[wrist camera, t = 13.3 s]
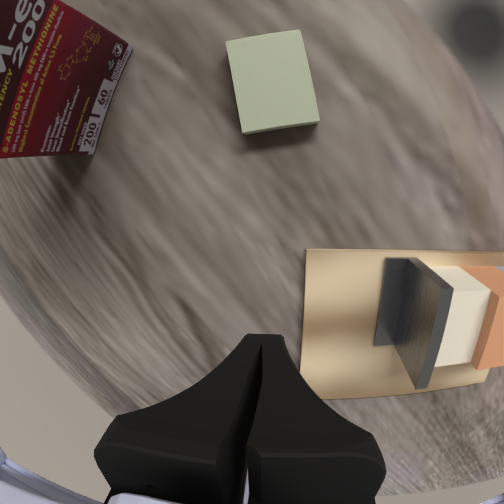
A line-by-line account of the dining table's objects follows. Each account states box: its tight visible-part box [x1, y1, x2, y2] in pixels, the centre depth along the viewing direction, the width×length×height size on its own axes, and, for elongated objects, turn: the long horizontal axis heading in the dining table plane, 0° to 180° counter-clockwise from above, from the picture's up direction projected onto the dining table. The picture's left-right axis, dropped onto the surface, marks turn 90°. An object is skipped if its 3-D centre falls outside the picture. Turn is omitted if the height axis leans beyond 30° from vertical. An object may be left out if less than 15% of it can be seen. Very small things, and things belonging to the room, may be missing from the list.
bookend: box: [373, 257, 454, 390], centre depth 17 cm, size 6×2×6 cm, turn 1°
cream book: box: [429, 266, 491, 367], centre depth 18 cm, size 5×4×4 cm
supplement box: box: [0, 0, 133, 159], centre depth 11 cm, size 9×5×16 cm, turn 159°
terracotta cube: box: [460, 266, 504, 371], centre depth 17 cm, size 5×4×6 cm
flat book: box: [226, 30, 320, 135], centre depth 17 cm, size 6×4×2 cm
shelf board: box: [300, 249, 504, 399], centre depth 21 cm, size 12×18×1 cm
